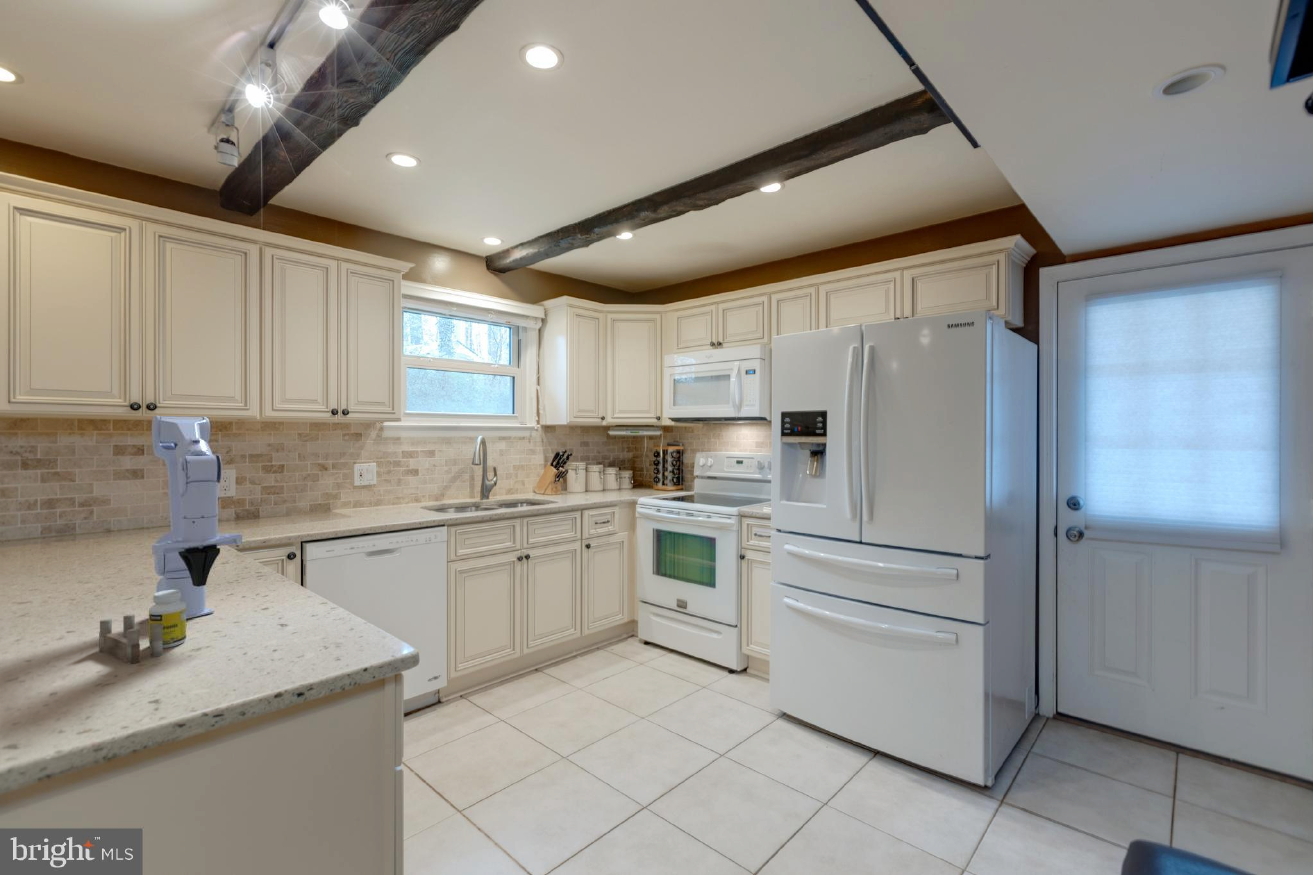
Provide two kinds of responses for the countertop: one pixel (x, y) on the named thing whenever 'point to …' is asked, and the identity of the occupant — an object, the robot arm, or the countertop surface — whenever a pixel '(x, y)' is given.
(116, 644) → the pin seat
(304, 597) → the countertop surface
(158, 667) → the countertop surface
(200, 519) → the robot arm
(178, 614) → the supplement bottle
